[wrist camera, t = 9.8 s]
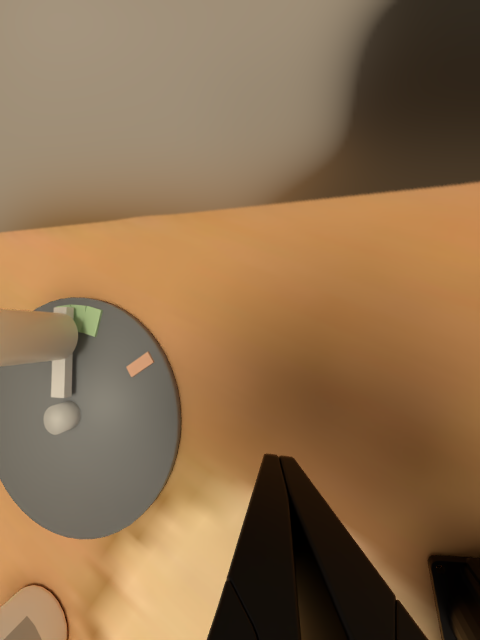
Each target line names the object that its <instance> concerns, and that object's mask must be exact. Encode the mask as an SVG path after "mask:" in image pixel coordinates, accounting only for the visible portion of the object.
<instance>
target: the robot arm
mask: <svg viewBox="0 0 480 640" xmlns="http://www.w3.org/2000/svg"><path fill="white" fill-rule="evenodd" d="M428 565H429V571H430V576H431V582H432V587H433V593H434V598H435V604H436V609H437V614H438V620H439V625H440V631H441V636H442V640H480V558H472V557H456V556H440V555H433V556H431V557H429V559H428ZM437 565H441V568H436V566H437ZM207 640H428V638H427V637H426V636H425V635H424V633H423V632H422V631H421V629H420V628H419V627H418V625H417V624H416V623H415V621H414V620H413V619H412V617H411V616H410V615H409V613H408V612H407V611H406V609H405V608H404V606H403V605H402V604H401V602H400V601H399V600H396V597H395V595H394V593H393V592H392V590H391V589H390V588H389V586H388V585H387V584H386V582H385V581H384V580H383V578H382V577H381V576H380V574H379V573H378V571H377V570H376V569H375V567H374V566H373V565H372V563H371V562H370V561H369V559H368V558H367V557H366V555H365V554H364V553H363V551H362V550H361V548H360V547H359V546H358V544H357V543H356V542H355V540H354V539H353V538H352V536H351V535H350V534H349V532H348V531H347V530H346V528H345V527H344V525H343V524H342V523H341V521H340V520H339V519H338V517H337V516H336V515H335V513H334V512H333V511H332V509H331V508H330V506H329V505H328V504H327V502H326V501H325V500H324V498H323V497H322V496H321V494H320V493H319V492H318V490H317V489H316V488H315V486H314V485H313V483H312V482H311V481H310V479H309V478H308V477H307V475H306V474H305V473H304V471H303V470H302V469H301V467H300V466H299V465H298V463H297V462H296V460H295V459H294V458H293V457H289V456H279V457H278V456H277V455H273V454H264V456H263V460H262V463H261V466H260V470H259V473H258V476H257V479H256V483H255V486H254V489H253V493H252V496H251V499H250V503H249V506H248V509H247V513H246V516H245V519H244V522H243V526H242V529H241V532H240V536H239V539H238V542H237V546H236V549H235V552H234V556H233V559H232V562H231V566H230V569H229V572H228V575H227V580H226V582H225V585H224V588H223V591H222V595H221V598H220V601H219V604H218V607H217V610H216V613H215V616H214V619H213V622H212V625H211V628H210V631H209V634H208V637H207Z"/></svg>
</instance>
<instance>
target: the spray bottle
mask: <svg viewBox="0 0 480 640" xmlns="http://www.w3.org/2000/svg"><path fill="white" fill-rule="evenodd" d="M0 640H67V624H66V620H65V616H64V612H63V610H62V608H61V606H60V604H59V602H58V600H57V599H56V598H55V597H54V596H53V595H52V593H51V592H49V591H48V590H46V589H45V588H43V587H41V586H36V585H31V586H27V587H24V588H22V589H21V590H19V591H18V592H17V593H16V594H15V595H13V596H12V597H11V598H10V599H9V600H8V601H7V602H6V603H5V604H4V605H2V606H1V607H0Z"/></svg>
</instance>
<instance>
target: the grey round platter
mask: <svg viewBox="0 0 480 640" xmlns="http://www.w3.org/2000/svg"><path fill="white" fill-rule="evenodd" d="M54 307H71V308H74V318H73V320H74V322H75V324H76V326H77V330H78V341H77V345H76V348H75V349H74V351H73V357H72V395H71V396H70V397H66V398H55V397H51V381H52V361H45V362H36V363H27V364H19V365H10V366H1V367H0V479H1V481H2V483H3V485H4V487H5V489H6V490H7V492H8V493H9V495H10V496H11V498H12V499H13V501H14V502H15V503H16V504H17V505H18V506H19V508H20V509H21V510H22V511H23V512H24V513H25V514H26V515H27V516H29V517H30V518H31V519H32V520H33V521H35V522H36V523H38V524H39V525H40V526H42V527H43V528H45V529H47V530H49V531H51V532H53V533H56V534H59V535H62V536H65V537H69V538H75V539H95V538H101V537H106V536H108V535H111V534H114V533H116V532H119V531H120V530H122V529H124V528H125V527H127V526H129V525H130V524H132V523H133V522H134V521H135V520H136V519H138V518H139V517H140V516H141V515H142V514H143V513H144V512H145V511H146V510H147V509H148V507H149V506H150V505H151V504H152V503H153V502H154V501H155V499H156V498H157V497H158V495H159V494H160V492H161V491H162V489H163V488H164V486H165V485H166V482H167V480H168V478H169V476H170V474H171V472H172V469H173V466H174V463H175V460H176V456H177V453H178V447H179V442H180V433H181V408H180V400H179V394H178V388H177V384H176V381H175V378H174V374H173V371H172V369H171V366H170V364H169V362H168V359H167V357H166V355H165V353H164V352H163V350H162V348H161V347H160V345H159V343H158V342H157V340H156V339H155V338H154V336H153V335H152V334H151V333H150V331H149V330H148V329H147V328H146V327H145V326H144V325H143V324H142V323H141V322H140V321H139V320H138V319H136V318H135V317H134V316H132V315H131V314H130V313H128V312H127V311H125V310H123V309H121V308H119V307H118V306H116V305H113V304H110V303H107V302H104V301H100V300H95V299H89V298H65V299H59V300H56V301H52V302H49V303H47V304H45V305H43V306H41V307H39V308H37V309H35V310H34V311H40V312H54Z"/></svg>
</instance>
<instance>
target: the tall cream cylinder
mask: <svg viewBox="0 0 480 640" xmlns="http://www.w3.org/2000/svg"><path fill="white" fill-rule="evenodd" d="M73 318H74V308H71V307H54V312H40V311H27V310H14V309H0V367H1V366H10V365H19V364H27V363H36V362H45V361H52V381H51V397H55V398H66V397H70V396H71V395H72V357H73V351H74V349H75V348H76V345H77V341H78V330H77V326H76V324H75V322H74V320H73Z"/></svg>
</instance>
